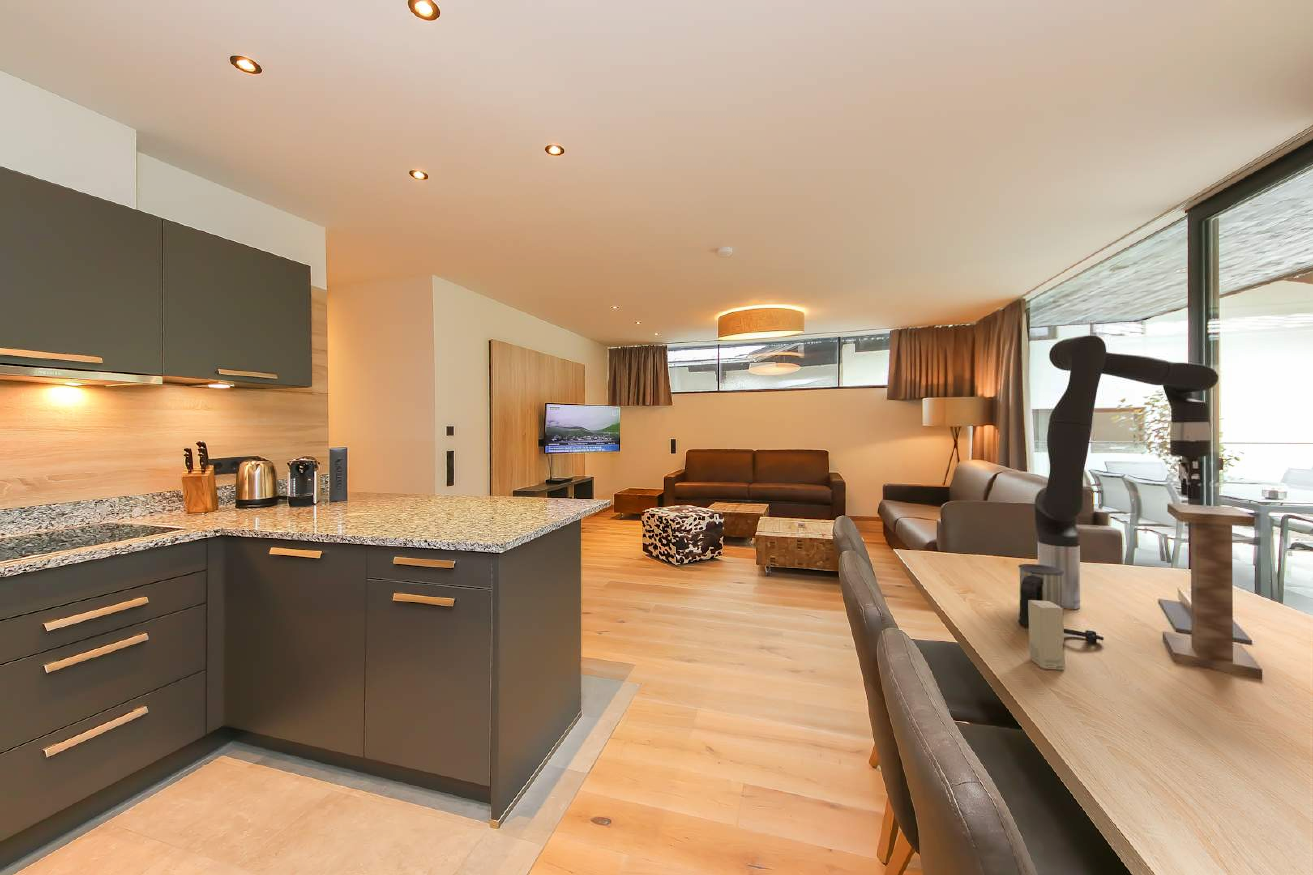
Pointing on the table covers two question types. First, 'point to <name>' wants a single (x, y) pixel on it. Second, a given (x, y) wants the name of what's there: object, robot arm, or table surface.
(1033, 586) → the milk frother
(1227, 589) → the walnut pedestal
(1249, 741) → the table surface
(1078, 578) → the robot arm
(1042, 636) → the box
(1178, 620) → the charcoal mat
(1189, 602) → the birch bar
